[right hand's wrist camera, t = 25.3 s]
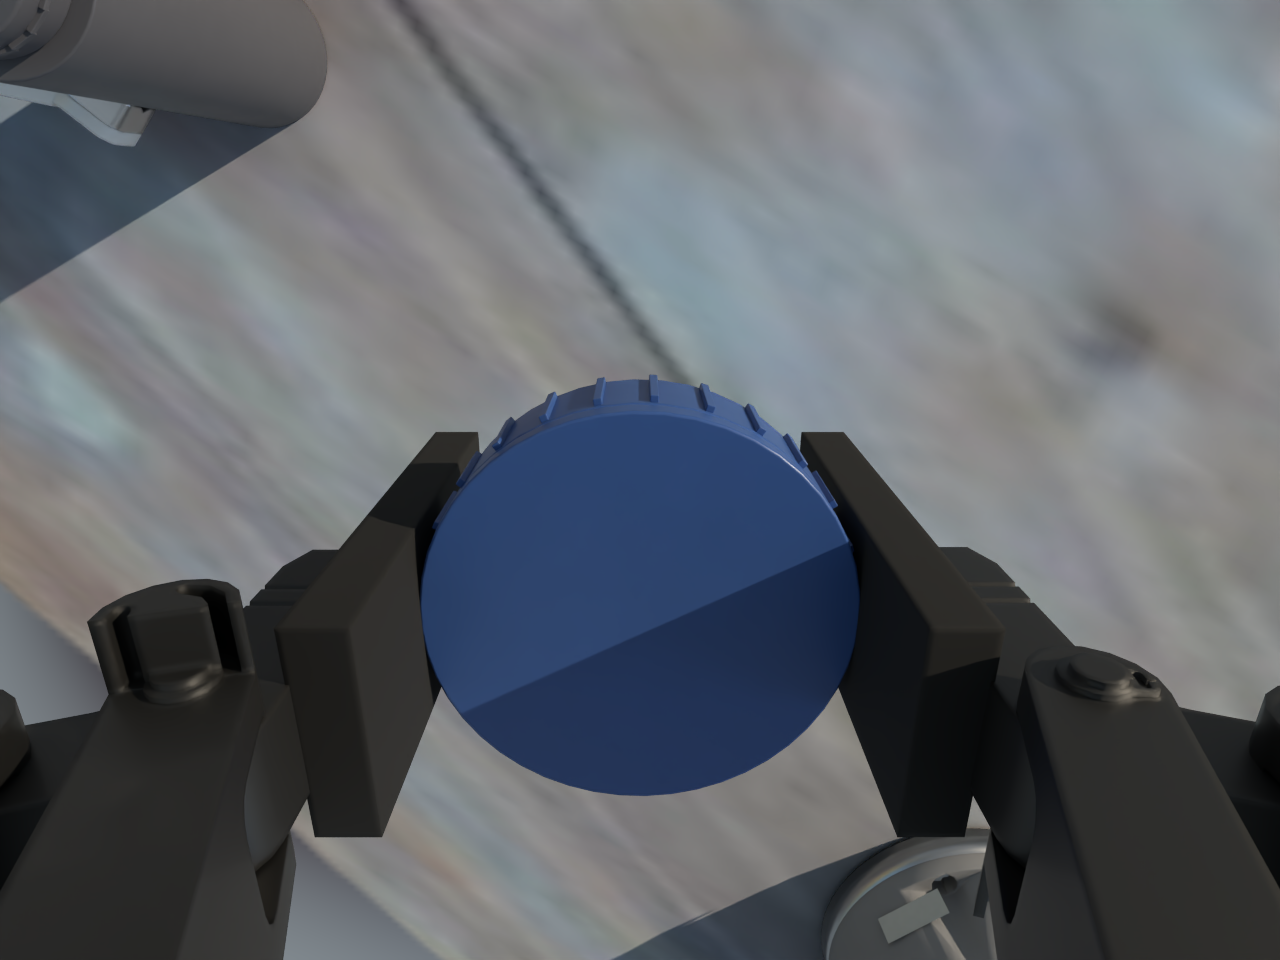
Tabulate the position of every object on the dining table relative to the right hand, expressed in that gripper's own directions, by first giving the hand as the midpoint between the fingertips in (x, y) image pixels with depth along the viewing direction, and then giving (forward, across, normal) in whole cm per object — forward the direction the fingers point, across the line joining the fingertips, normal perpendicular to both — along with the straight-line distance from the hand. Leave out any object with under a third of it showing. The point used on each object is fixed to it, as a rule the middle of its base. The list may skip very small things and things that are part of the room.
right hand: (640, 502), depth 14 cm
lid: (-4, 0, 0) cm, 4 cm away
